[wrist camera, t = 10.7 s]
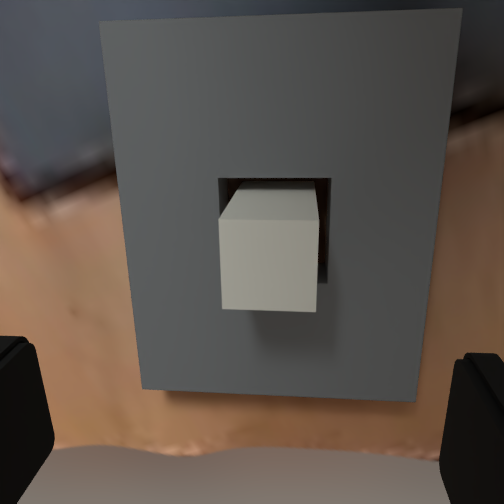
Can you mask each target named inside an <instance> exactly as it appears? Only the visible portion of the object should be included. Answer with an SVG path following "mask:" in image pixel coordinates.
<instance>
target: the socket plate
mask: <svg viewBox="0 0 504 504" xmlns="http://www.w3.org/2000/svg"><path fill="white" fill-rule="evenodd" d="M462 12H463V8H444V9H417V10H390V11H363V12H336V13H309V14H282V15H255V16H228V17H201V18H174V19H147V20H120V21H99V28H100V37H101V45H102V53H103V62H104V70H105V79H106V87H107V96H108V104H109V112H110V121H111V129H112V138H113V146H114V155H115V163H116V172H117V180H118V188H119V197H120V205H121V214H122V222H123V231H124V239H125V247H126V256H127V264H128V273H129V281H130V290H131V298H132V306H133V315H134V323H135V332H136V340H137V349H138V357H139V365H140V374H141V382H142V389H149V390H170V391H191V392H212V393H233V394H254V395H275V396H296V397H317V398H337V399H358V400H379V401H400V402H416V395H417V386H418V378H419V370H420V361H421V353H422V345H423V336H424V328H425V320H426V311H427V303H428V295H429V286H430V278H431V270H432V262H433V253H434V245H435V237H436V228H437V220H438V212H439V203H440V195H441V187H442V178H443V170H444V162H445V153H446V145H447V137H448V129H449V120H450V112H451V104H452V95H453V87H454V79H455V70H456V62H457V54H458V45H459V37H460V29H461V20H462ZM227 178H328V189H327V217H326V245H325V263H318V267H317V296H316V312H296V311H265V310H235V309H222V293H221V269H220V245H219V221H218V219H219V218H220V216H221V214H222V213H223V211H224V210H225V208H226V207H227V205H228V180H227Z"/></svg>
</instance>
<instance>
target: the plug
mask: <svg viewBox="0 0 504 504" xmlns="http://www.w3.org/2000/svg"><path fill="white" fill-rule="evenodd" d="M218 221H219V245H220V269H221V293H222V309H235V310H265V311H296V312H316V296H317V267H318V239H319V216H318V208H317V200H316V192H315V184H314V181H242V183H241V184H240V186H239V188H238V189H237V191H236V192H235V194H234V196H233V197H232V199H231V200H230V202H229V203H228V205H227V207H226V208H225V210H224V211H223V213H222V214H221V216H220V218H219V219H218Z"/></svg>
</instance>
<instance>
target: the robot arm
mask: <svg viewBox="0 0 504 504" xmlns="http://www.w3.org/2000/svg"><path fill="white" fill-rule="evenodd" d="M54 440H55V436H54V430H53V426H52V421H51V417H50V412H49V408H48V403H47V399H46V394H45V390H44V385H43V380H42V376H41V371H40V367H39V362H38V358H37V353H36V349H35V346H34V345H33V344H31V343H29V341H28V340H27V338H25V337H23V336H0V504H17V502H18V501H19V499H20V498H21V496H22V495H23V493H24V492H25V490H26V489H27V487H28V486H29V484H30V483H31V481H32V480H33V478H34V476H35V475H36V474H37V472H38V471H39V469H40V468H41V466H42V465H43V463H44V462H45V460H46V459H47V457H48V456H49V454H50V453H51V451H52V449H53V446H54ZM439 466H440V473H441V477H442V480H443V483H444V486H445V488H446V491H447V494H448V497H449V500H450V503H451V504H504V362H503V361H502V360H501V358H500V357H499V356H498V355H497V354H494V353H466V354H465V356H464V358H463V359H457V360H456V361H455V364H454V369H453V376H452V382H451V388H450V394H449V401H448V407H447V413H446V419H445V426H444V432H443V438H442V444H441V451H440V457H439Z"/></svg>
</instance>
